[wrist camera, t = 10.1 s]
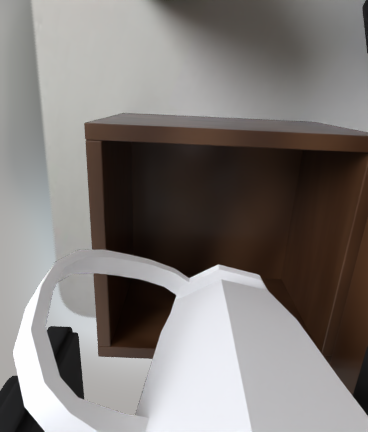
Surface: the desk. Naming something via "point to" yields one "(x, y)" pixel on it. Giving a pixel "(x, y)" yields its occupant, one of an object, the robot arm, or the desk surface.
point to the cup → (194, 360)
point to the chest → (225, 215)
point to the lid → (353, 323)
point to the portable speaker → (366, 21)
